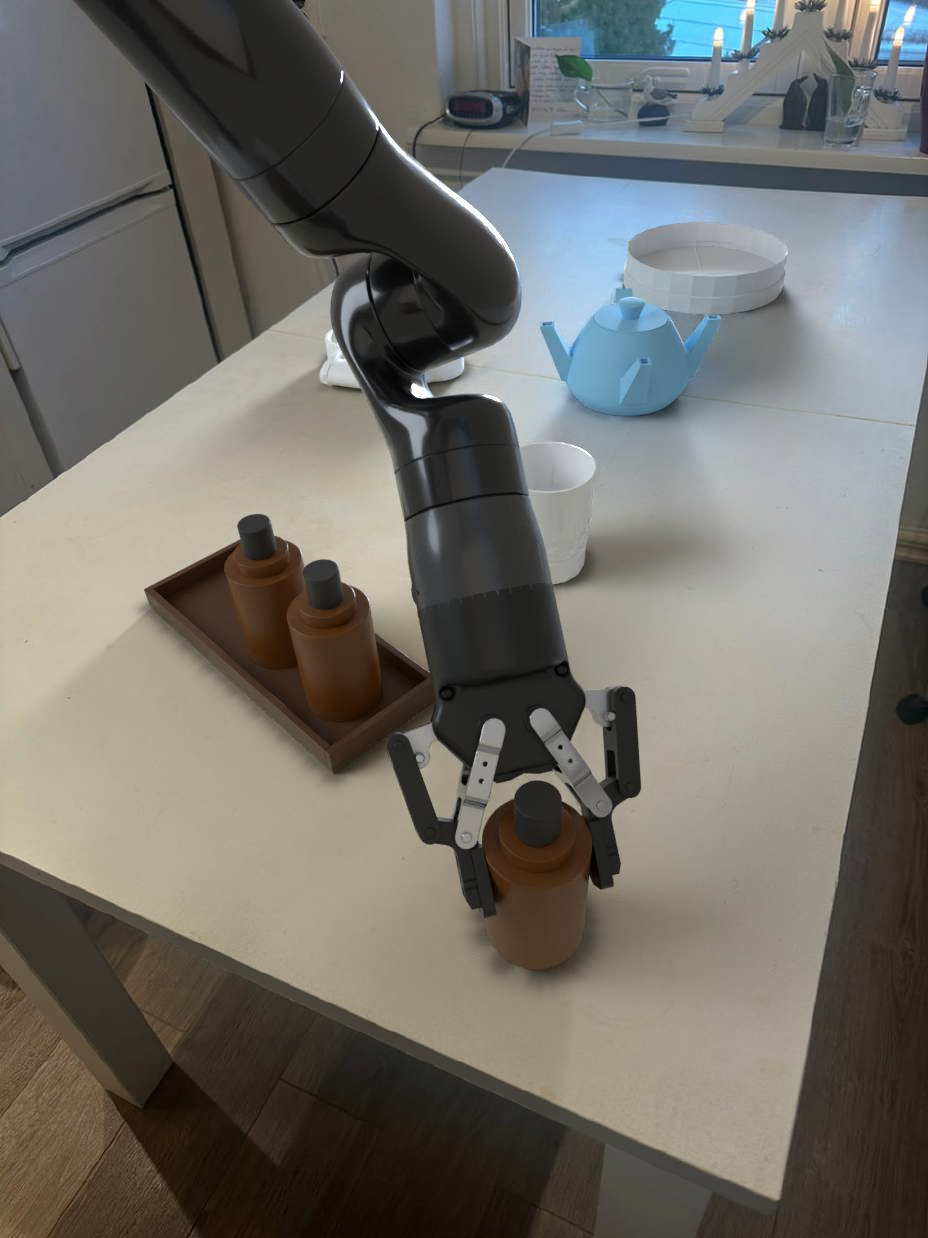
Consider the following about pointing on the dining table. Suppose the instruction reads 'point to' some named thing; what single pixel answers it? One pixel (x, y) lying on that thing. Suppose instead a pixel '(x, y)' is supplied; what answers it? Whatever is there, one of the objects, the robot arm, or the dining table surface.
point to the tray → (213, 628)
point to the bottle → (537, 876)
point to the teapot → (629, 356)
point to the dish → (705, 267)
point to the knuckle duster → (341, 375)
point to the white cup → (561, 502)
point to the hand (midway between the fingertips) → (546, 898)
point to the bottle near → (335, 645)
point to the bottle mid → (265, 590)
